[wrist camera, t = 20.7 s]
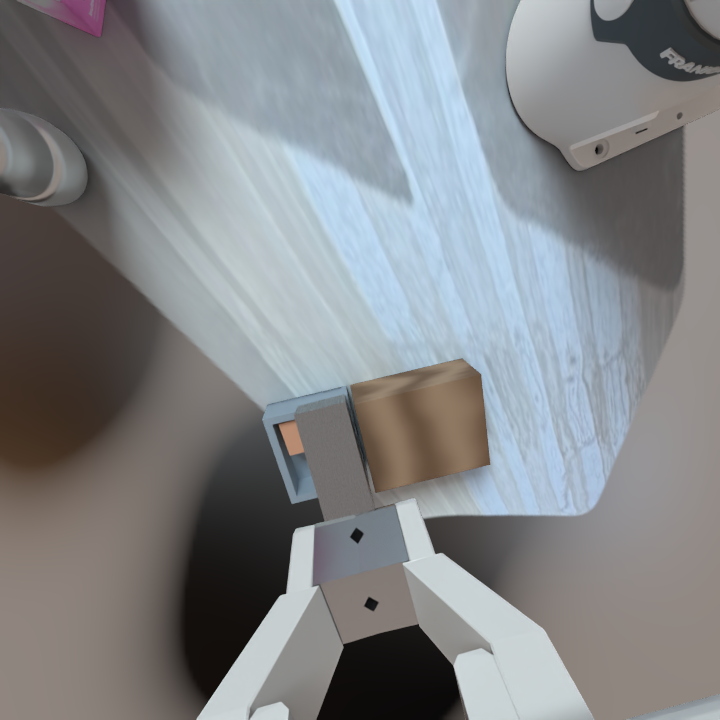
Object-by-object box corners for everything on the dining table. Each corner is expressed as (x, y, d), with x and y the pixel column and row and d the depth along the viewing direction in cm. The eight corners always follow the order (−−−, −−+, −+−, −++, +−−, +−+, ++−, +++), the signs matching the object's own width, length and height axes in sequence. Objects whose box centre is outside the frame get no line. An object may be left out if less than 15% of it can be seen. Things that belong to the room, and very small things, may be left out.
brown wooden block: (462, 358, 39) (480, 374, 35) (471, 440, 43) (490, 464, 38) (350, 385, 39) (354, 404, 34) (369, 465, 43) (375, 492, 38)
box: (346, 386, 39) (348, 399, 36) (365, 466, 43) (369, 484, 39) (267, 404, 39) (262, 419, 35) (294, 483, 42) (291, 503, 39)
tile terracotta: (278, 424, 36) (281, 413, 39) (289, 455, 38) (291, 443, 40) (315, 414, 36) (315, 404, 39) (325, 446, 38) (325, 434, 40)
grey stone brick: (345, 401, 33) (293, 415, 32) (375, 515, 34) (326, 528, 34) (345, 393, 36) (297, 406, 35) (372, 498, 37) (328, 510, 37)
